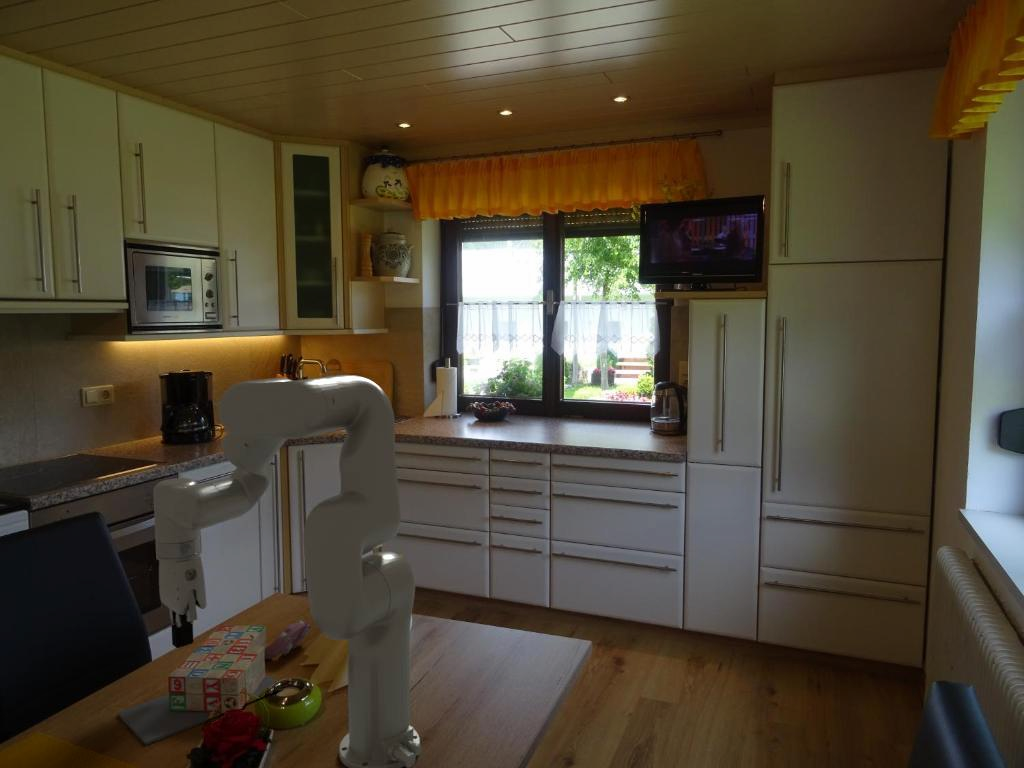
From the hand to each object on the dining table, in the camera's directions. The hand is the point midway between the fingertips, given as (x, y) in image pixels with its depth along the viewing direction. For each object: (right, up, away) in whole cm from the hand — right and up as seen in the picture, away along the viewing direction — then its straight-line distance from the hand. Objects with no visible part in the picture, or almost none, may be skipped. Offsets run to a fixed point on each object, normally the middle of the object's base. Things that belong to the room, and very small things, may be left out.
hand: (182, 644), depth 133 cm
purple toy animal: (+15, -7, +15) cm, 22 cm away
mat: (+6, -9, -5) cm, 11 cm away
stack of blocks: (+2, -4, +1) cm, 5 cm away
